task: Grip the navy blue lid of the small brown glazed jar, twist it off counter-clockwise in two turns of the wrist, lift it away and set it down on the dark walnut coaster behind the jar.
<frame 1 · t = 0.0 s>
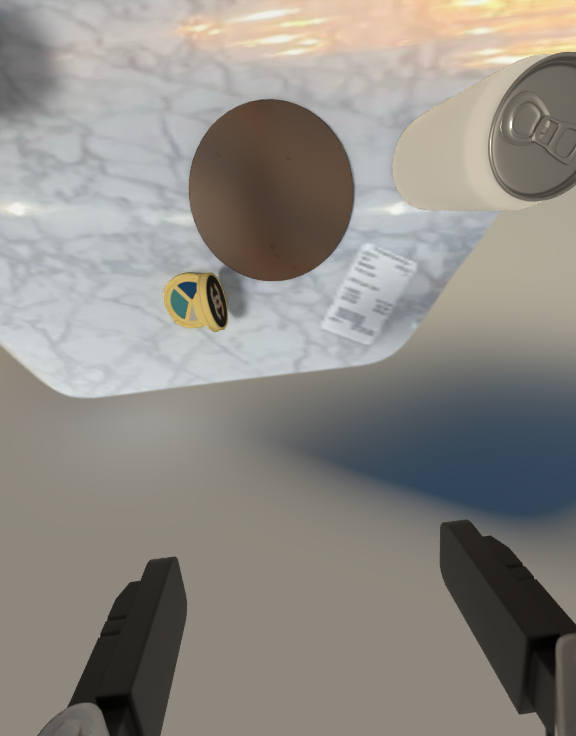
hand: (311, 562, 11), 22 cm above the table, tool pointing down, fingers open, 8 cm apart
can: (431, 163, 27), on the table
eyeshadow: (196, 298, 30), on the table
coaster: (272, 198, 27), on the table
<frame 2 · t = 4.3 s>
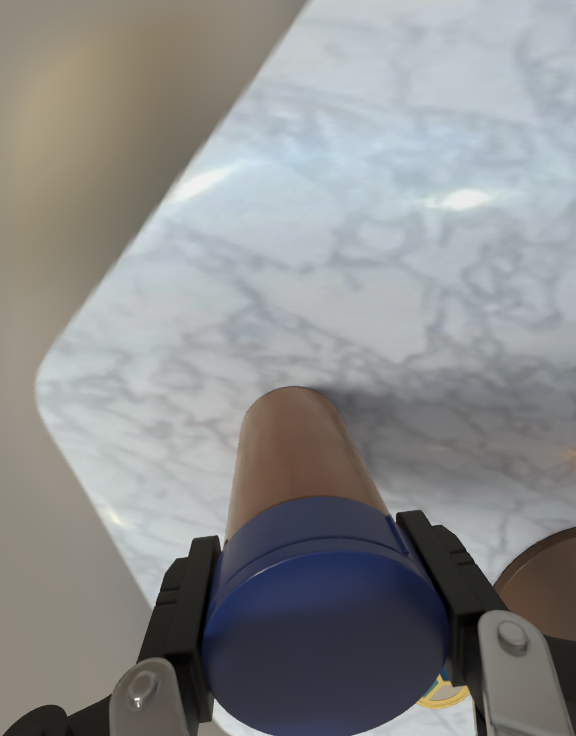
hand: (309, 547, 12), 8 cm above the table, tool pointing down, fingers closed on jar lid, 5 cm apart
eyeshadow: (440, 670, 25), on the table
jar lid: (325, 637, 9), point 11 cm above the table, screwed on, not yet turned, touching gripper
jar: (292, 435, 19), on the table
coaster: (575, 603, 23), on the table
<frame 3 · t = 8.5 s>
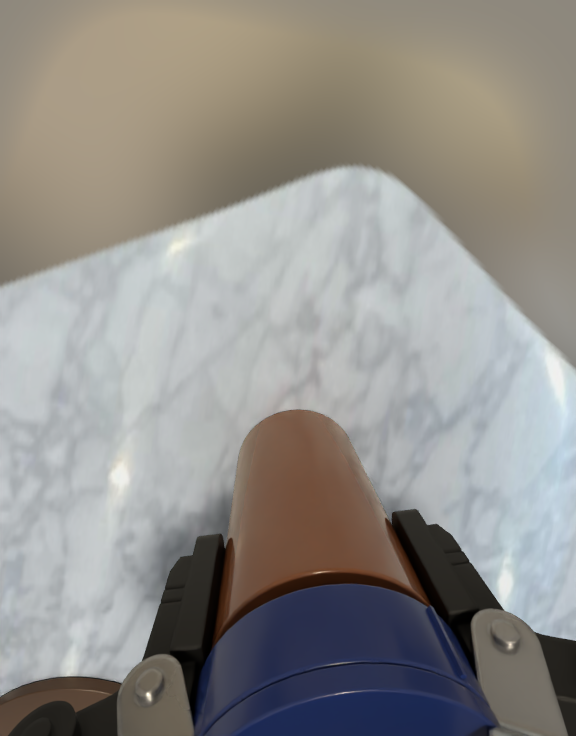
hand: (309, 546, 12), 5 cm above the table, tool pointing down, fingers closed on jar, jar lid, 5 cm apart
jar: (296, 463, 17), on the table, touching gripper
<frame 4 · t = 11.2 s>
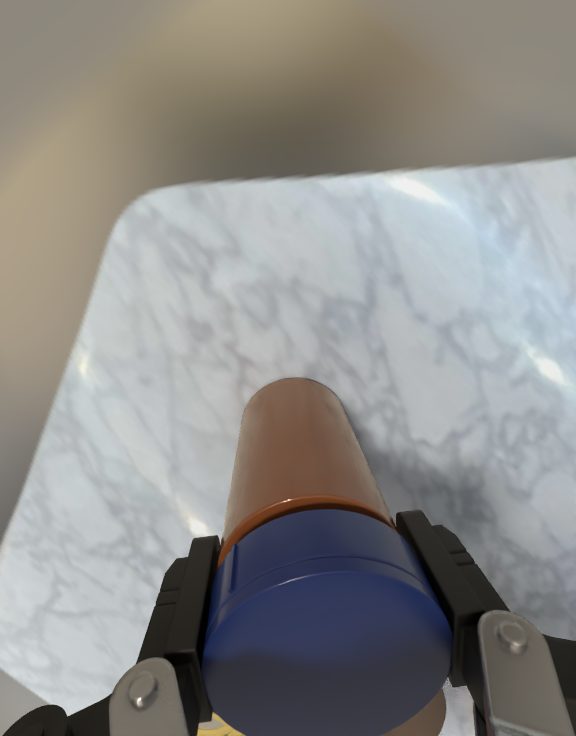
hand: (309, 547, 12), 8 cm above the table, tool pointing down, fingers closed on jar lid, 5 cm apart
eyeshadow: (214, 701, 24), on the table
jar lid: (326, 652, 9), point 11 cm above the table, off its thread, touching gripper
jar: (293, 426, 19), on the table
coaster: (357, 712, 25), on the table
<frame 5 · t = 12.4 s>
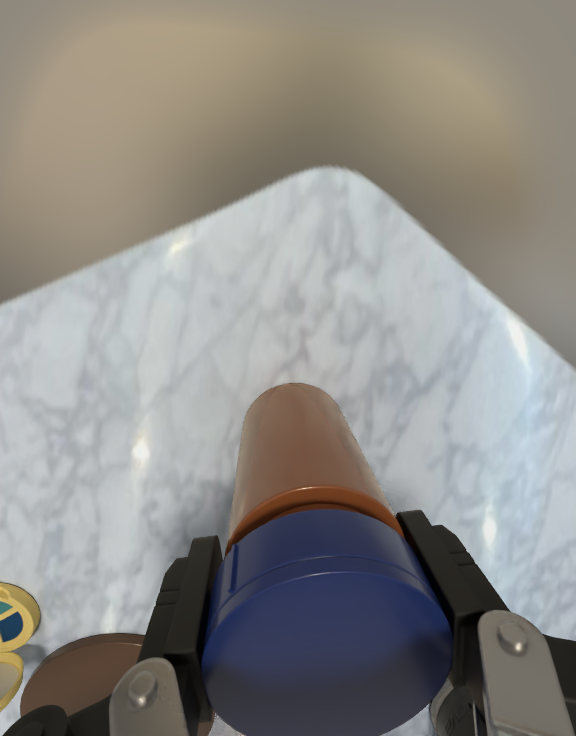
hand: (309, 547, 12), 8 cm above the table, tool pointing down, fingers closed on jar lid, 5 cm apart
eyeshadow: (3, 613, 21), on the table
jar lid: (326, 652, 9), point 11 cm above the table, off its thread, touching gripper, jar
jar: (293, 431, 19), on the table, touching gripper, jar lid
coaster: (123, 703, 24), on the table
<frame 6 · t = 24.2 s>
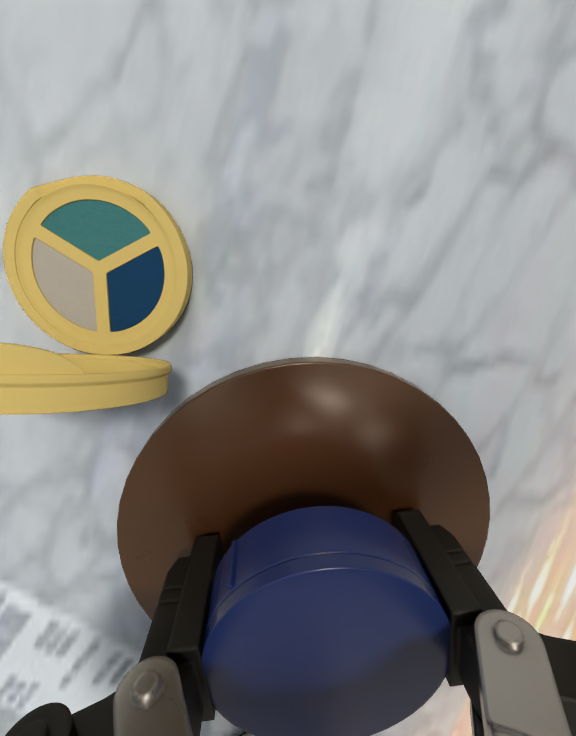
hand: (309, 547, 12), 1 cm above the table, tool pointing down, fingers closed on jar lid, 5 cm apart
eyeshadow: (112, 280, 10), on the table
jar lid: (326, 648, 9), point 4 cm above the table, off its thread, touching gripper
coaster: (306, 529, 12), on the table
when the fingers open (1 cm above the table, at t = 28.4 s): jar lid drops 2 cm, resting on coaster.
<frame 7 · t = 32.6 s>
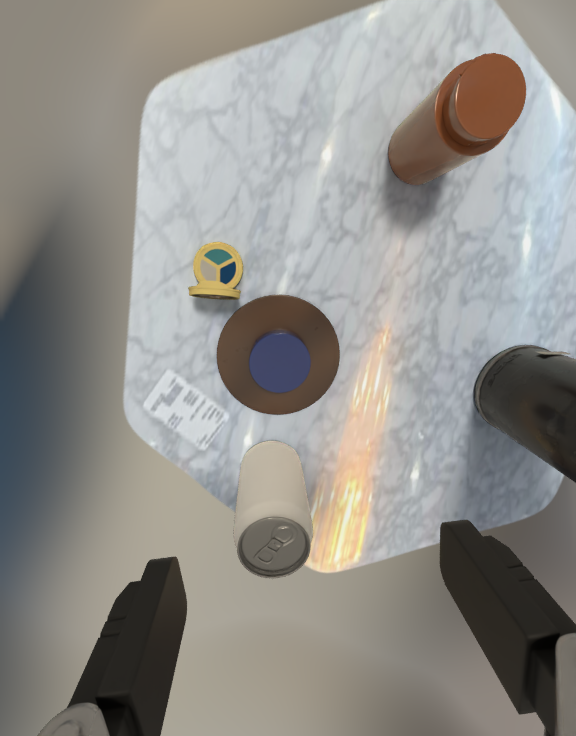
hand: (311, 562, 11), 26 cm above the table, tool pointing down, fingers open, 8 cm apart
can: (271, 464, 39), on the table
eyeshadow: (219, 270, 34), on the table
jar lid: (279, 362, 34), point 2 cm above the table, off its thread, touching coaster
jar: (418, 151, 32), on the table
coaster: (278, 356, 36), on the table
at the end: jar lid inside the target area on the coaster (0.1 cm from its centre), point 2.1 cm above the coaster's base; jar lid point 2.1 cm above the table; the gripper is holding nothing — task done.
